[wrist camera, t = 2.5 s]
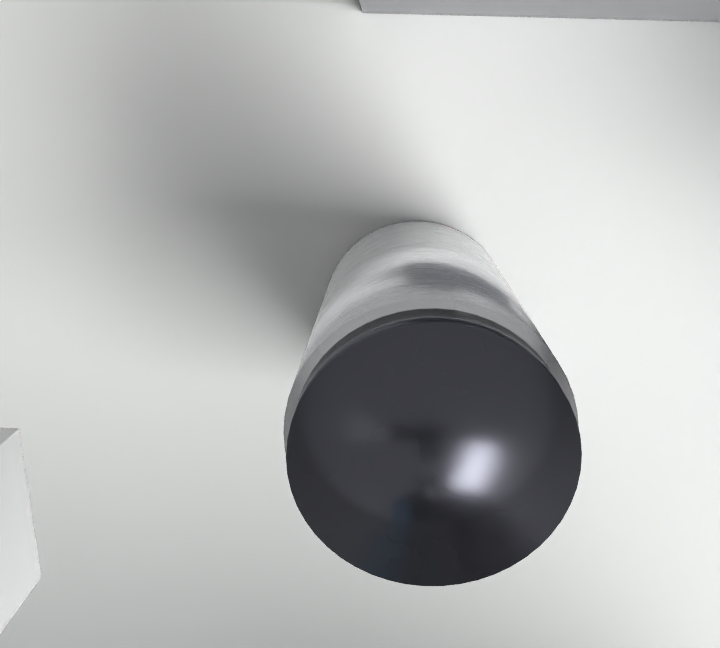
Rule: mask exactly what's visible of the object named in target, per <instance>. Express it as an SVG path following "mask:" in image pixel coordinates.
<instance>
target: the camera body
mask: <svg viewBox="0 0 720 648" xmlns="http://www.w3.org/2000/svg"><path fill="white" fill-rule="evenodd" d="M359 2H360V5H361V8H362V12H363V13H388V14H428V15H468V16H508V17H549V18H589V19H629V20H669V21H710V22H720V0H359Z"/></svg>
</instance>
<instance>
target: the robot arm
mask: <svg viewBox="0 0 720 648" xmlns="http://www.w3.org/2000/svg"><path fill="white" fill-rule="evenodd" d="M40 578H41V571H40V564H39V557H38V551H37V544H36V538H35V531H34V525H33V518H32V511H31V505H30V498H29V492H28V485H27V478H26V472H25V465H24V459H23V452H22V446H21V439H20V432H19V429H17V428H0V633H1V632H2V631H3V629H4V628H5V627H6V625H7V624H8V622H9V621H10V620H11V618H12V617H13V616H14V614H15V613H16V611H17V610H18V609H19V607H20V606H21V605H22V603H23V602H24V600H25V599H26V598H27V596H28V595H29V594H30V592H31V591H32V589H33V588H34V587H35V585H36V584H37V583H38V581H39V580H40Z"/></svg>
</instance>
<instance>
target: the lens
mask: <svg viewBox="0 0 720 648" xmlns="http://www.w3.org/2000/svg"><path fill="white" fill-rule="evenodd" d="M284 443H285V452H286V463H287V474H288V479H289V483H290V487H291V491H292V494H293V496H294V499H295V502H296V504H297V507H298V508H299V510H300V512H301V514H302V516H303V517H304V519H305V521H306V522H307V524H308V525H309V526H310V528H311V529H312V530H313V532H314V533H315V534H316V535H317V537H318V538H319V539H320V540H321V541H322V542H323V543H324V544H325V545H326V546H327V547H328V548H330V549H331V550H332V551H333V552H335V553H336V554H337V555H338V556H339V557H341V558H342V559H344V560H345V561H347V562H349V563H350V564H352V565H353V566H355V567H357V568H359V569H361V570H363V571H365V572H368V573H370V574H372V575H375V576H378V577H381V578H384V579H387V580H390V581H395V582H399V583H404V584H411V585H420V586H446V585H455V584H462V583H466V582H471V581H475V580H479V579H482V578H485V577H488V576H491V575H494V574H496V573H498V572H500V571H502V570H505V569H507V568H509V567H511V566H512V565H514V564H516V563H517V562H519V561H520V560H522V559H524V558H525V557H527V556H528V555H529V554H530V553H532V552H533V551H534V550H535V549H537V548H538V547H539V546H540V545H541V544H542V543H543V542H544V541H545V540H546V539H547V538H548V537H549V536H550V535H551V534H552V532H553V531H554V530H555V528H556V527H557V526H558V524H559V523H560V522H561V520H562V519H563V517H564V515H565V513H566V512H567V510H568V508H569V506H570V504H571V502H572V499H573V496H574V494H575V491H576V489H577V485H578V480H579V476H580V471H581V457H582V451H581V438H580V433H579V427H578V415H577V408H576V404H575V400H574V395H573V392H572V390H571V387H570V385H569V382H568V379H567V377H566V375H565V373H564V372H563V370H562V368H561V367H560V365H559V363H558V361H557V360H556V358H555V357H554V355H553V354H552V352H551V350H550V349H549V347H548V346H547V344H546V343H545V341H544V340H543V338H542V336H541V335H540V333H539V332H538V330H537V329H536V327H535V326H534V324H533V322H532V321H531V319H530V318H529V316H528V315H527V313H526V312H525V310H524V308H523V307H522V305H521V304H520V302H519V301H518V299H517V298H516V296H515V295H514V293H513V291H512V290H511V288H510V287H509V285H508V284H507V282H506V281H505V279H504V277H503V276H502V274H501V273H500V271H499V270H498V268H497V267H496V265H495V263H494V262H493V260H492V259H491V258H490V256H489V255H488V254H487V253H486V251H485V250H484V249H483V248H482V247H481V246H480V245H479V244H478V243H476V242H475V241H474V240H472V239H471V238H470V237H468V236H467V235H465V234H463V233H461V232H460V231H458V230H456V229H453V228H451V227H448V226H445V225H442V224H437V223H433V222H424V221H408V222H402V223H396V224H392V225H389V226H386V227H383V228H381V229H378V230H376V231H374V232H372V233H370V234H369V235H367V236H365V237H364V238H362V239H361V240H360V241H358V242H357V243H356V244H355V245H354V246H352V247H351V249H350V250H349V251H348V252H347V253H346V254H345V255H344V256H343V258H342V259H341V261H340V262H339V263H338V265H337V267H336V269H335V271H334V272H333V274H332V277H331V280H330V282H329V285H328V288H327V291H326V294H325V296H324V299H323V302H322V305H321V308H320V310H319V313H318V316H317V319H316V322H315V325H314V327H313V330H312V333H311V336H310V339H309V342H308V344H307V347H306V350H305V353H304V356H303V358H302V361H301V364H300V367H299V370H298V373H297V375H296V378H295V381H294V384H293V387H292V390H291V392H290V395H289V398H288V403H287V407H286V412H285V420H284Z"/></svg>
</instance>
